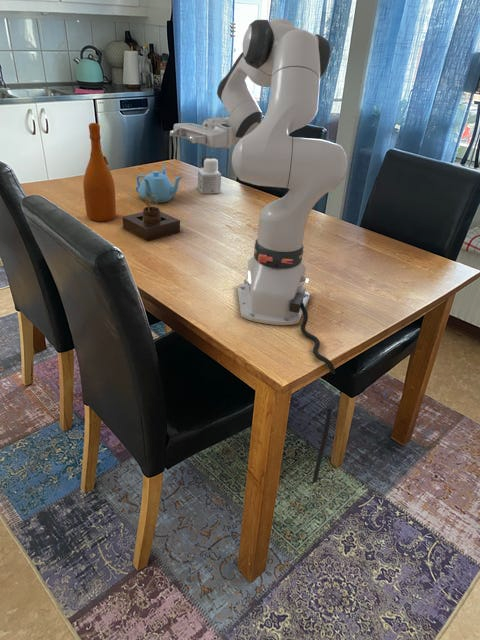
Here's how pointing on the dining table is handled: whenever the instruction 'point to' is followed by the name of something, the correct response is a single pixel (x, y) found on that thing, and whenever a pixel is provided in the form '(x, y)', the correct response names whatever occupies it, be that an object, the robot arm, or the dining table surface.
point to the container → (209, 176)
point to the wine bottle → (98, 182)
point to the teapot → (157, 186)
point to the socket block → (151, 226)
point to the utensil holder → (151, 212)
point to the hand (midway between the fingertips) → (181, 136)
